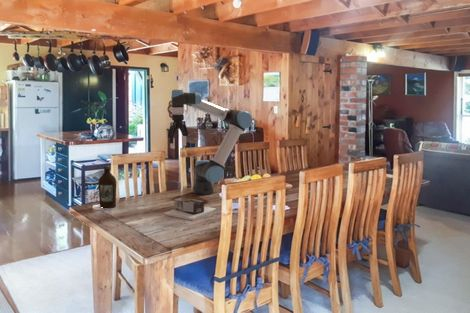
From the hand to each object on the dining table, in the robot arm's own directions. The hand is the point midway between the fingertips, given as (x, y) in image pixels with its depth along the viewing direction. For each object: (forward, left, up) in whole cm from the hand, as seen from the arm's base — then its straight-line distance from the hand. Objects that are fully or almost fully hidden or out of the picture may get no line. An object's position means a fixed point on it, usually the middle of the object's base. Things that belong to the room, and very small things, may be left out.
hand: (178, 147), depth 274 cm
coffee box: (+19, +15, -31) cm, 39 cm away
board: (+19, +23, -35) cm, 47 cm away
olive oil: (+36, -27, -35) cm, 57 cm away
